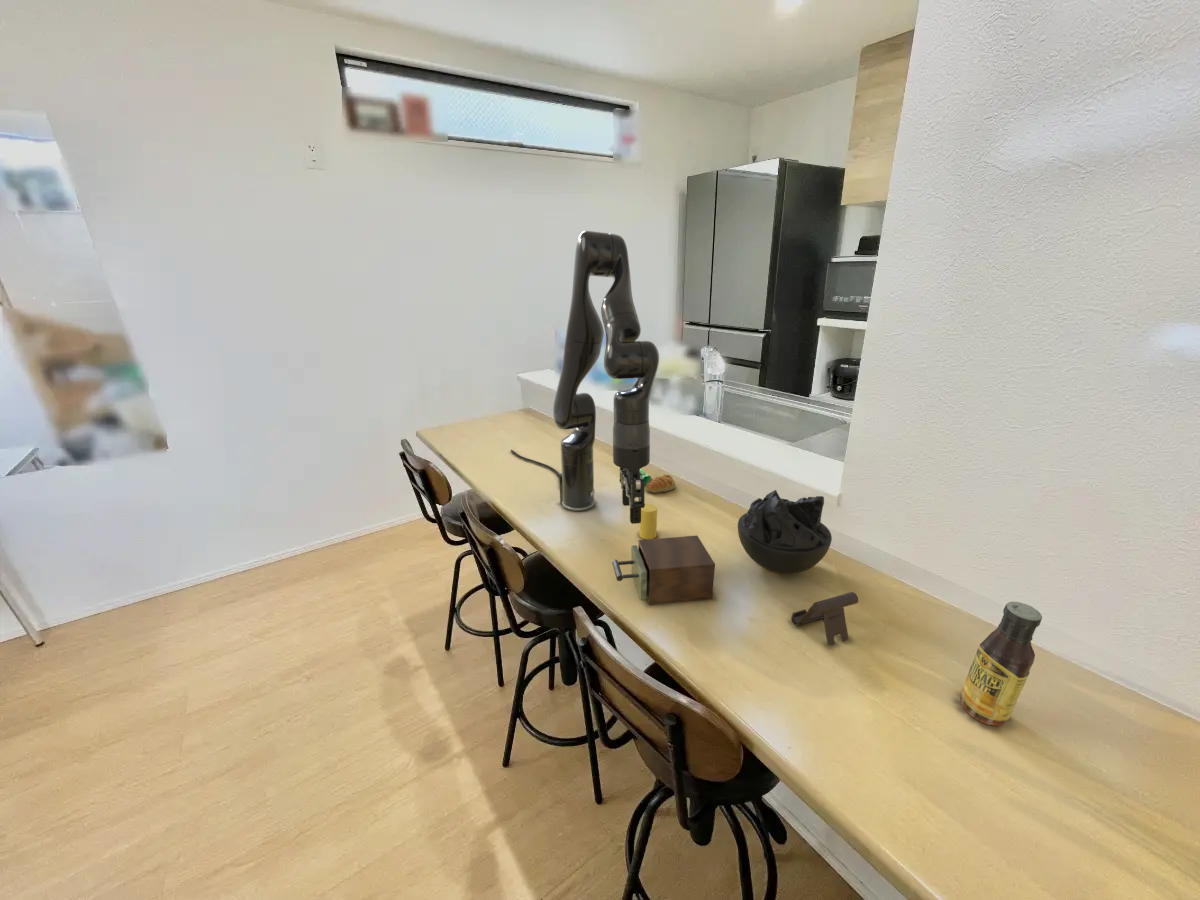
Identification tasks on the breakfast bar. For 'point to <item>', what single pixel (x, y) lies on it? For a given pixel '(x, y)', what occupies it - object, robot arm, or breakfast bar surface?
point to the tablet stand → (828, 615)
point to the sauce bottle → (1001, 666)
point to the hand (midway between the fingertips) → (631, 513)
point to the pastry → (661, 484)
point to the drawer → (634, 571)
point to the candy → (645, 477)
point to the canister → (648, 522)
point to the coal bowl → (785, 533)
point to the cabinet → (677, 569)
